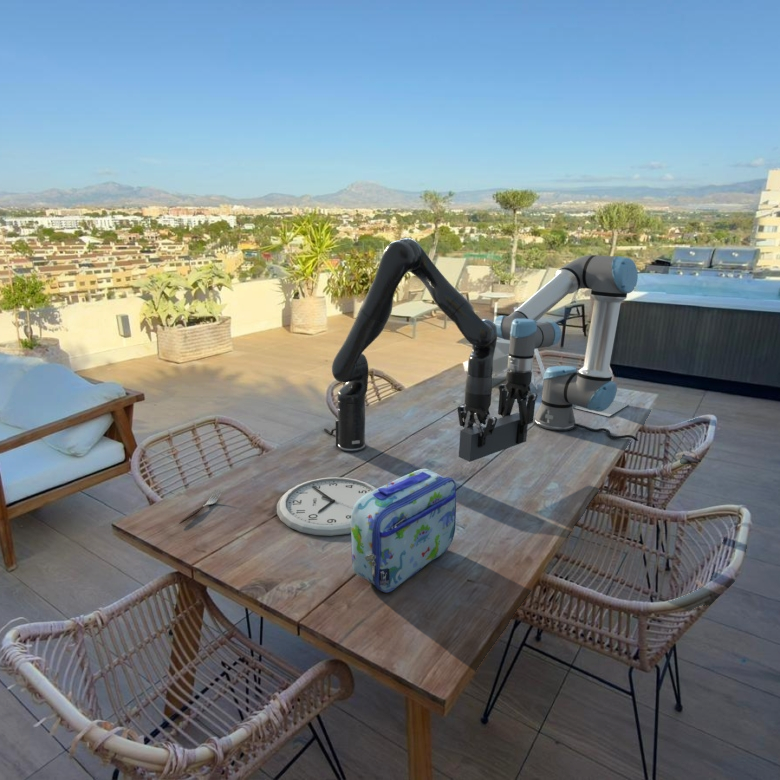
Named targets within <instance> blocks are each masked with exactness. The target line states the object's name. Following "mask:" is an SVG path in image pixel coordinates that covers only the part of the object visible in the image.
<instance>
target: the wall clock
mask: <svg viewBox="0 0 780 780" xmlns="http://www.w3.org/2000/svg"><path fill="white" fill-rule="evenodd" d="M376 489H378V487H376V486H374V485H372V484H371V483H369V482H365V481H362V480H359V479H355V478H349V477H338V476H337V477H335V476H333V477H332V476H331V477H322V478H317V479H312V480H307V481H305V482H302V483H299V484H297V485H295V486H293V487H292V488H290V489H288V490H287V491H286V492H285V493H284V494H283V495H281V496H280V498H279V499H278V502H277V503H276V515H277V517H278V518H279V520H280V521H281V522H282V523H283V524H285V525H286V526H287V527H288V528H290V529H293V530H295V531H297V532H299V533H303V534H308V535H312V536H327V537H328V536H329V537H331V536H332V537H333V536H342V535H350V534H351V514H352V510H353V507H354V505H355V504H356V502H357V501H358V500H359V499H360V498H361V497H362V496H364V495H365V494H367V493H370V492H372V491H374V490H376Z"/></svg>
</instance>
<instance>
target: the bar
mask: <svg viewBox="0 0 780 780" xmlns="http://www.w3.org/2000/svg"><path fill="white" fill-rule="evenodd" d="M519 423H520V417H519V412H515V413H511V414H510V415H508V416H505V417H502V416H501V417H499V418H498V417H497V422H496V425H495V427H494V430H493V433H492V435H488V436H486V444H485V446H484V447H481V448H479V447H478V436H479V432H478V429H477V427H476V425H473V426H472V427H469V428H466V429H464V428H463V429H460V432H459V445H458V457H459V458H461V459H463V460H465V461H467V462H469V463H470V462H474V461H476V460H479V459H482V458H485V457H488V456H490V455H494V454H496V453H498V452H501V451H504V450H507V449H509V448H512V447H515V446H518V445H521V444H523V443H526V442H527V437H528V428H529V424H528V425H527V429H526V433H525V434H524V440H523V442H522V443H519V444H517V443H516V437H517V427H518V424H519ZM482 424H483V423H482ZM482 424H480V425H482ZM482 431H483V428H482Z"/></svg>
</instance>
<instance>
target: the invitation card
mask: <svg viewBox="0 0 780 780" xmlns="http://www.w3.org/2000/svg"><path fill="white" fill-rule="evenodd" d="M628 406H629V404H627V403H623V402H618V401H614V400H613V402H612V403H611V405H610V406H609V407H608V408H607V409H606V410H604V411H601V412H598V411H594V410H589V409H587V408H583V407H580V406H577V405H575V406H574V407H573V409H575V410H581V411H584V412H587V413H593V414H596V415H600V416H604V417H608V418H609V417H611V416H613V415H614V414H616V413H617V412H619V411H621V410H623V409H624V408H626V407H628Z"/></svg>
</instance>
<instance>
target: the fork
mask: <svg viewBox="0 0 780 780" xmlns="http://www.w3.org/2000/svg"><path fill="white" fill-rule="evenodd" d="M222 493H223V491H221V490H219V489H217V490H216V489H215V490H214V492H213V493H212V495H211V496H210V498H209V499H208V500H207V501H206V502H205V504H203V505H202V506H200V507H198V508H196V509H194V510H192V512H191V513H189V514H188V515H187V516H186V517H185V518H183V519H182V520H181V521H180V522H179V523H178V525H180V524H182V523H184V522H186V521H187V520H189V519H191V518H192V517H194V516H195V515H197V514H198V513H199V512H201V511H202V510H203V509H204V508H205V507H206V506H210V505H215V504H216V503H217V502H218V500H219V498H220V497H221V495H222Z"/></svg>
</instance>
